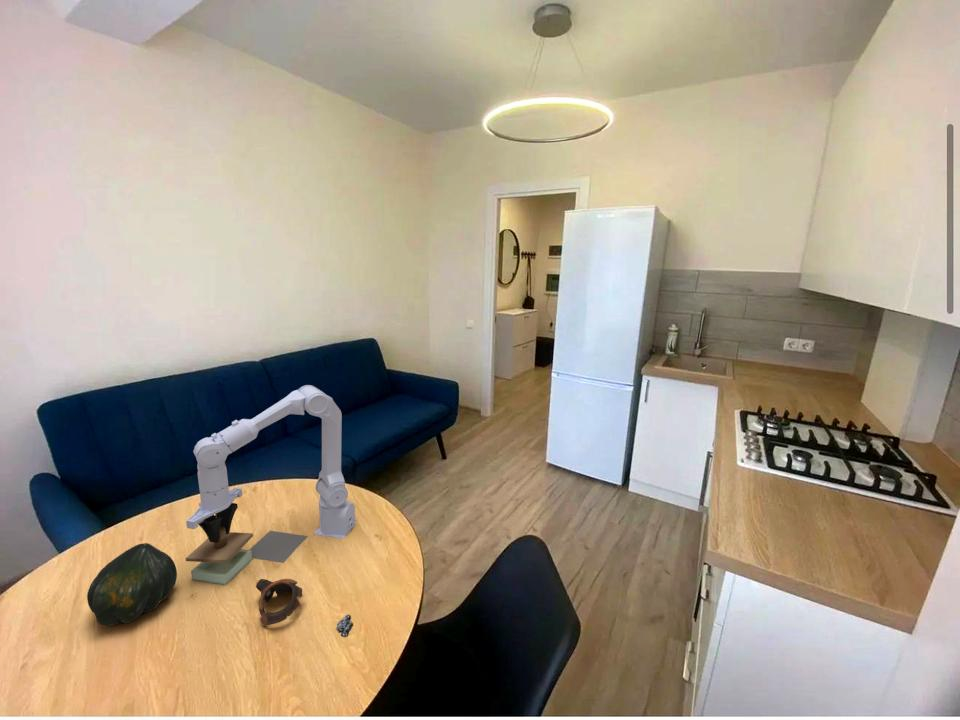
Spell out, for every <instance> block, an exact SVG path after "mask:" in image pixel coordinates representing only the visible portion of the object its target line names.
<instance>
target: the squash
mask: <svg viewBox="0 0 960 720" xmlns="http://www.w3.org/2000/svg"><path fill="white" fill-rule="evenodd" d="M177 572H178V570H177V567H176V563H175V562H174V560H173V559H172V557H171V556H170V555H169V554H167V553H166V552H164V551H162V550H160V549H159V548H157V547H155V546H154V545H152V544H151V543H147V542H144V543H140V544H136V545H133V546H132V547H130V548H128V549H127V550H125V551H124V552H122V553H121V554H119V555H118V556H116V557H115V558H114V559H113V560H111V561H110V562H108V563H107V564H106V565H105V566H103V568H101V569H100V570H99V572H98V573H97V575H96V577H94V579H93V580H92V582H91V583H90V586H89V588H88V591H87V595H86V601H87V605H88V606H89V609H90V611H91V612H92V613H94V617H95V620H96V621H97V623H98V624H100V625H101V626H103V627H113V626H115V625H118V624H119V623H121V622H122V623H126V624H128V623H131V622H133V621H136V620H137V619H138V618H139V617H140V616H141V615H142V614H143V613H146V612H147V613H149V612H150V611H152V610H154V609H155V608H157V607H158V605H159V604H160V602H162V601H163V600H165V599H166V597H168V596H169V594H170V592H171V591H172V590H173V588H174V587H175V585H176V582H177V579H178V573H177Z"/></svg>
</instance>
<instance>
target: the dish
mask: <svg viewBox="0 0 960 720" xmlns="http://www.w3.org/2000/svg"><path fill="white" fill-rule="evenodd" d="M252 560H253V558H252V551H250V550H249V549H244V548H241V549H240V550H239V552H238V553H237V554H236V555H235V556H234V557H233V558H232V559H231V560H230V561H229V562H228V563H213V562H198V564H197V565H195V567H193V568H192V569H191V570H190V572H191V581H196V582H201V583H208V584H214V585H220V586H226V585H228V584H229V582H231V581H232V580H233V579H234V578H235V577H236V576H237V575H238V574H239V573H240V572H241V571H242V570H243V569H244V568H246V566H247V565H248V564H249V563H251V562H252Z"/></svg>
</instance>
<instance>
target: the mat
mask: <svg viewBox="0 0 960 720" xmlns="http://www.w3.org/2000/svg"><path fill="white" fill-rule="evenodd" d="M307 538H309V535H304V534H303V535H302V534H297V533H289V532H282V531H275V530H269V531H268V532H267V533H266V534H265V535H264V536H262V538H260V539H259V540H258V541H257V542H256V543H255V544H254V545H253V546H252V547H250V548H249V549H248V550H250V551H252V559H255V560H263V561H270V562H275V563H282V564H283V563H285V562H286V561H287V559H288V558H289V557H291V555H292V554H293V553H294V552H295V551H296V550H297V549H298V548H299V547H300V546H301V544H303V543H304V541H306V539H307Z"/></svg>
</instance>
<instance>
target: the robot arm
mask: <svg viewBox="0 0 960 720" xmlns="http://www.w3.org/2000/svg"><path fill="white" fill-rule="evenodd" d="M305 411H306V412H307V413H308V414H309V415H311V416H314V417H318V418H320V419H321V471H319V473H318V478H317V481H316V482H315V490H316V491H315V492H317V494H319V500H318V509H319V510H318V511H319V527H318V528H317V529H316V530H315V531H314V533H313V535H315V536H322V537H327V538H328V537H330V538H335V539H342V540H344V539H346V537H347V536H348V535H349V533H350V532H351V531H352V530H353V528H354V527H355V525H356V524H357V521H356V507H355V504H354V503H353V502H351V501H349V500H347V499H348V496H349V492H348V489H347V488H346V481H345V478H344V475H343V473H342V428H343V427H342V421H343V420H342V419H343V416H342V411H341V409H340V408H339V406H338V405H337V404H336V402H335V401H334V399H333V397H331V396H329V395H327V394H326V393H325V392H323V391H322V390H320V389H319V388H318V387H316V386H314V385H311V384H305V385H303V386H301V387H299V388H298V389H296V390H293V391H291V392H290V393H289V394H287V396H285V397H284V398H282V399H280V400H279V401H278V402H276V403H274V404H273V405H271V406H270V407H268V408H266V409H265V410H264V411H262V412H261V413H259V414H257V415H256V416H255V417H253V418H250V419H249V418H242V419H240V420H237V419H235V420H233V421H231V425H229V426H227V427H226V428H224V429H223V430H221V431H219V432H217V433H216V432H214V433H212V434H211V436H209V437H208V436H207V437H204V438H202V439H200V440H199V441H197V442H196V444H195V445H194V449H193V451H192V452H193V454H194V456H195V458H196V461H197V467H196V468H197V479H198V488H199V496H200V502H199V503H198V506H199V507H198V508H197V510H196V511H195V512H194V513H193V514H192V515H191V516H190V517H189V518H188V519H186V521H185V522H186V528H187V529H189V530H190V529H191V530H196V529H197V528H198V527H200V528H201V529H202V530H203V531H204V533H205V534H206V536H207V539H209V541H210V542H215V543H217V542H219V540H220V531H219V529H220V526H224V527H225V530H226V534H229V532H230V531H231V526H232V522H233V519H234V516H235V513H236V511H237V510H238V506H239V504H238V503H235V502H234V501H235V499H237V498H241V497H242V496H243V488H239V487H238V488H237V487H234V488H233V489H231V490H230V489H229V488H230V487H229V478H228V471H227V466H226V460H227V457H228V456H229V455H230V454H232V453H234V452H236V451H237V450H239V449H240V448H241V447H244V446H246V445H247V444H249V443H251V442H252V441H253V440H255V439H256V438H257V437H258V435H259V432H260V431H261V430H263V429H264V428H266V427H268V426H270V425H272V424H274V423H276V422H277V421H279V420H281V419H283V418H285V417H286V416H288V415H299V416H300V415H301V416H304V415H305Z"/></svg>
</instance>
